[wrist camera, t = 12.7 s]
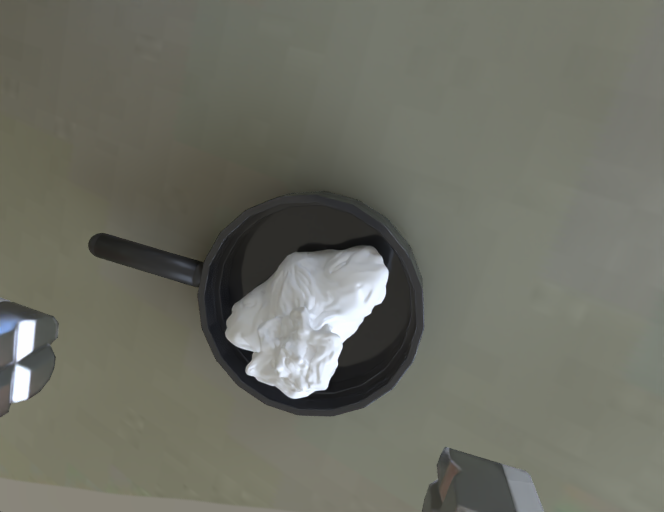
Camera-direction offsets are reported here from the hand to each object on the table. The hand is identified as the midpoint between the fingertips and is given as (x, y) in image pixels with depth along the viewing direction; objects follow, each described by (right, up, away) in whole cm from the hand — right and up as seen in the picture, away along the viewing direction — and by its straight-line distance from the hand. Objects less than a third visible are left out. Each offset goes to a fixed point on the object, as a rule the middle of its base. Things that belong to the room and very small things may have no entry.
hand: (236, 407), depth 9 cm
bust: (+1, 0, +25) cm, 25 cm away
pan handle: (-11, +3, +24) cm, 27 cm away
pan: (+1, 0, +25) cm, 25 cm away
